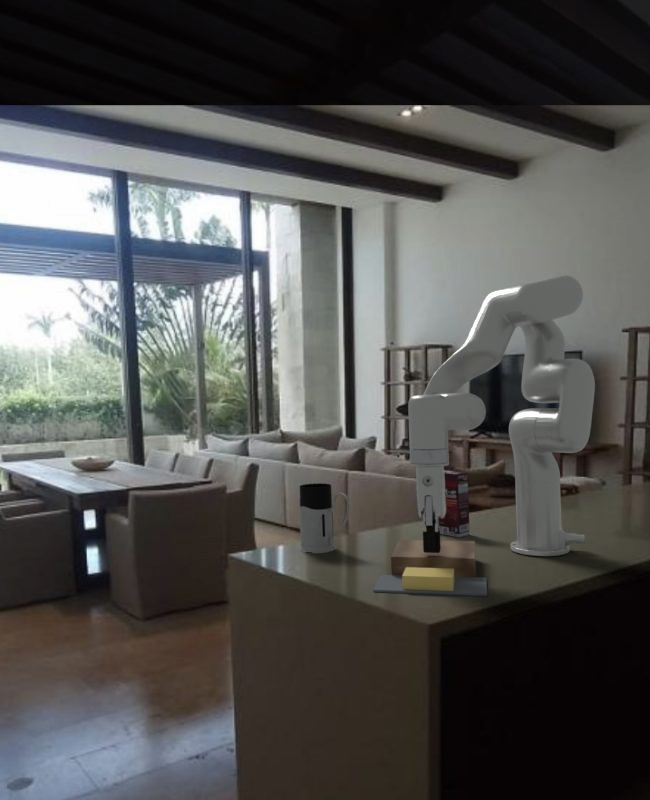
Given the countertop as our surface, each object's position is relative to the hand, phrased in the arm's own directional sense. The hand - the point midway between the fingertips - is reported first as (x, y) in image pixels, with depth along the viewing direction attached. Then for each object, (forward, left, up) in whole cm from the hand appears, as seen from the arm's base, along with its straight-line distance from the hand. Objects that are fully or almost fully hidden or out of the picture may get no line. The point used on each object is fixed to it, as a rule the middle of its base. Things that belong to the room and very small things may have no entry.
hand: (432, 551), depth 125 cm
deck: (0, -6, -5) cm, 8 cm away
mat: (0, +6, -5) cm, 8 cm away
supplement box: (-2, -40, -5) cm, 40 cm away
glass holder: (+26, -20, -5) cm, 33 cm away
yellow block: (0, +7, -2) cm, 8 cm away
